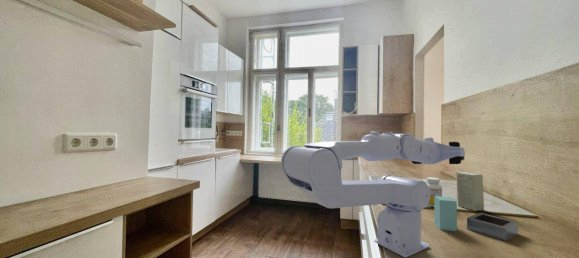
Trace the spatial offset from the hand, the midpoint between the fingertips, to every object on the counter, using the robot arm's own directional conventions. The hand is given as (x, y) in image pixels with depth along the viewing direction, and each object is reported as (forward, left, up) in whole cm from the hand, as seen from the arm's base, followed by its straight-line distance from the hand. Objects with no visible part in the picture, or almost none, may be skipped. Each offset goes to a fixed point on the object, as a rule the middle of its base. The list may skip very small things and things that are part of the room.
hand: (446, 156), depth 63 cm
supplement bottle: (+16, +12, -20) cm, 28 cm away
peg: (-1, 0, -20) cm, 20 cm away
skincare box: (+24, +4, -20) cm, 31 cm away
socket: (+7, -8, -20) cm, 22 cm away
